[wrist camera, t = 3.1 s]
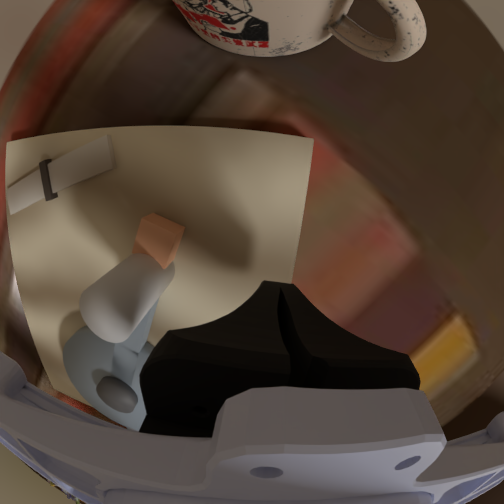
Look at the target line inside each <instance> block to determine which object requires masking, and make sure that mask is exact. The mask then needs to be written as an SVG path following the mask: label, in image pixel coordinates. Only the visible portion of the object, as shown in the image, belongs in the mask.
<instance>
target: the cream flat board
mask: <svg viewBox="0 0 504 504" xmlns="http://www.w3.org/2000/svg"><path fill="white" fill-rule="evenodd" d="M313 143H314V139H311V138H306V137H299V136H293V135H286V134H279V133H271V132H263V131H254V130H244V129H233V128H220V127H202V126H126V127H109V128H96V129H86V130H76V131H68V132H61V133H54V134H47V135H41V136H36V137H30V138H25V139H20V140H15V141H11V142H7V148H6V209H7V221H8V231H9V240H10V247H11V253H12V260H13V265H14V270H15V275H16V280H17V285H18V289H19V293H20V297H21V301H22V305H23V309H24V312H25V316H26V319H27V322H28V325H29V328H30V332H31V335H32V337H33V340H34V343H35V346H36V349H37V351H38V354H39V356H40V359H41V361H42V364H43V366H44V369H45V371H46V373H47V376H48V378H49V380H50V382H51V384H52V387H53V389H55V390H57V391H59V392H61V393H63V394H65V395H67V396H69V397H71V398H73V399H76V400H78V401H80V402H82V403H84V404H87V405H89V406H91V407H93V406H92V405H91V404H89V403H88V402H87V401H86V400H85V399H84V398H83V397H82V395H81V394H80V393H79V392H78V391H77V389H76V388H75V387H74V385H73V384H72V382H71V380H70V378H69V377H68V375H67V372H66V370H65V367H64V363H63V348H64V346H65V343H66V342H67V341H68V340H69V339H70V338H71V337H72V336H73V334H74V333H75V332H76V331H77V330H79V329H80V328H82V327H84V326H86V323H85V321H84V320H83V318H82V315H81V312H80V308H79V300H80V296H81V294H82V292H83V291H84V290H86V289H87V288H88V287H89V286H91V285H92V284H93V283H94V282H96V281H97V280H98V279H100V278H101V277H102V276H103V275H105V274H106V273H107V272H109V271H110V270H111V269H113V268H114V267H115V266H117V265H118V264H119V263H121V262H122V261H123V260H125V259H126V258H127V257H129V256H130V255H131V254H133V253H132V250H133V246H134V242H135V239H136V235H137V232H138V228H139V225H140V222H141V218H143V217H145V216H147V215H149V214H151V213H155V214H158V215H160V216H162V217H164V218H166V219H168V220H171V221H173V222H175V223H177V224H179V225H182V226H184V227H186V228H185V230H184V233H183V236H182V238H181V241H180V244H179V247H178V249H177V252H176V255H175V258H174V260H173V262H174V265H175V275H174V278H173V280H172V282H171V283H170V284H169V285H168V287H167V288H166V289H165V291H164V292H163V293H162V294H161V296H160V297H159V300H158V304H157V307H156V310H155V314H154V317H153V320H152V324H151V327H150V331H149V334H148V338H147V341H146V342H148V343H149V344H151V345H152V346H154V347H155V346H156V344H157V343H158V342H159V341H160V339H161V338H162V337H163V336H164V335H165V334H166V332H167V331H168V330H175V329H182V328H188V327H194V326H198V325H201V324H205V323H208V322H211V321H214V320H216V319H218V318H221V317H223V316H225V315H227V314H229V313H231V312H232V311H234V310H235V309H237V308H238V307H239V306H241V305H242V304H243V303H244V302H245V301H246V300H248V299H249V298H250V297H251V296H252V294H253V293H254V292H255V291H256V290H257V289H258V287H259V286H260V284H261V282H262V281H264V280H267V281H275V282H282V283H290V284H291V281H292V275H293V270H294V265H295V259H296V254H297V248H298V242H299V237H300V231H301V225H302V219H303V212H304V206H305V200H306V193H307V186H308V180H309V173H310V165H311V158H312V151H313Z"/></svg>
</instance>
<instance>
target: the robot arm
mask: <svg viewBox="0 0 504 504" xmlns="http://www.w3.org/2000/svg"><path fill="white" fill-rule="evenodd" d="M139 380H140V388H141V393H142V397H143V401H144V406H145V410H146V416H145V419H144V421H143V423H142V425H141V427H140V430H139V431H137V430H134V429H131V428H128V427H127V429H125V428H122V427H119V426H117V425H114V424H111V423H109V422H106V421H104V420H101V419H99V418H97V417H94V416H92V415H90V414H87V413H85V412H83V411H81V410H79V409H77V408H74V407H72V406H70V405H68V404H66V403H64V402H62V401H60V400H59V399H57V398H55V397H53V396H51V395H49V394H47V393H46V392H44V391H42V390H40V389H39V388H37V387H35V386H34V385H32V384H30V383H29V382H27V379H26V376H25V374H24V372H23V370H22V368H21V367H20V366H19V364H18V363H17V362H15V361H14V360H13V359H11V358H10V357H8V356H7V355H5V354H4V353H2V352H1V351H0V442H1V443H2V444H3V445H4V446H6V447H7V448H8V449H9V450H10V451H12V452H13V453H14V454H15V455H16V456H17V457H19V458H20V459H21V460H22V461H24V462H25V463H26V464H28V465H29V466H30V467H32V468H33V469H34V470H36V471H37V472H38V473H40V474H41V475H42V476H44V477H45V478H47V479H48V480H50V481H51V482H53V483H54V484H56V485H57V486H59V487H60V488H62V489H63V490H65V491H67V492H68V493H70V494H72V495H73V496H75V497H77V498H78V499H80V500H82V501H84V502H86V504H465V503H466V502H468V501H470V500H472V499H474V498H476V497H477V496H479V495H481V494H482V493H484V492H486V491H488V490H489V489H491V488H493V487H494V486H496V485H497V484H499V483H500V482H501V481H502V480H504V412H501V413H500V414H498V415H497V416H496V417H495V418H494V419H493V420H492V421H491V422H490V423H489V425H488V426H487V428H486V429H484V430H481V431H478V432H475V433H473V434H470V435H467V436H464V437H461V438H458V439H454V440H451V441H448V442H447V441H446V438H445V436H444V433H443V431H442V429H441V426H440V424H439V422H438V420H437V418H436V416H435V414H434V412H433V409H432V407H431V405H430V403H429V401H428V399H427V397H426V395H425V393H424V391H420V390H419V387H420V377H419V374H418V372H417V370H416V368H415V367H414V365H413V363H412V361H411V359H410V358H409V356H408V355H407V354H403V353H400V352H396V351H393V350H389V349H386V348H383V347H380V346H378V345H375V344H373V343H370V342H368V341H366V340H363V339H361V338H359V337H357V336H355V335H354V334H352V333H350V332H348V331H346V330H345V329H343V328H341V327H340V326H338V325H337V324H336V323H334V322H333V321H331V320H330V319H329V318H327V317H326V316H325V315H324V314H323V313H322V312H320V311H319V310H318V309H317V308H316V307H315V306H314V305H313V304H312V303H311V302H310V301H309V300H308V299H307V298H306V297H305V296H304V295H303V294H302V292H301V291H300V290H299V289H298V288H297V287H296V286H295V285H294V284H290V283H282V282H275V281H267V280H264V281H262V282H261V284H260V286H259V287H258V289H257V290H256V291H255V292H254V293H253V294H252V296H251V297H250V298H249V299H248V300H246V301H245V302H244V303H243V304H242V305H241V306H239V307H238V308H237V309H235V310H234V311H232V312H231V313H229V314H227V315H225V316H223V317H221V318H218V319H216V320H214V321H211V322H208V323H205V324H201V325H198V326H194V327H188V328H182V329H175V330H168V331H167V332H166V334H165V335H164V336H163V337H162V338H161V339H160V341H159V342H158V343H157V344H156V346H155V347H154V348H153V350H152V352H151V353H150V355H149V357H148V358H147V360H146V362H145V363H144V365H143V367H142V370H141V372H140V374H139Z"/></svg>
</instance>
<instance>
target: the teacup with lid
mask: <svg viewBox="0 0 504 504" xmlns="http://www.w3.org/2000/svg"><path fill="white" fill-rule="evenodd" d="M172 1H173V2H174V3H175V5H176V6H177V7H178V9H179V10H180V12H181V13H182V14H183V16H184V17H185V19H186V20H187V22H188V23H189V24H190V26H191V27H192V28H193V30H194V31H195V32H196V33H197V34H198V35H199V36H200V37H202V38H203V39H204V40H206V41H207V42H209V43H210V44H212V45H214V46H216V47H218V48H221V49H223V50H226V51H229V52H233V53H237V54H242V55H248V56H260V57H273V56H283V55H290V54H294V53H298V52H302V51H305V50H308V49H310V48H313V47H315V46H317V45H319V44H321V43H322V42H324V41H325V40H327V39H328V38H329V37H331V36H332V35H334V36H335V37H336V38H338V39H339V40H340V41H342V42H343V43H344V44H346V45H347V46H348V47H350V48H351V49H353V50H355V51H356V52H358V53H360V54H362V55H364V56H366V57H369V58H372V59H375V60H379V61H385V62H394V61H400V60H403V59H406V58H408V57H410V56H411V55H413V54H414V53H415V52H417V51H418V50H419V49H420V48H421V46H422V45H423V44H424V41H425V39H426V25H425V21H424V18H423V15H422V12H421V10H420V8H419V6H418V4H417V3H416V1H415V0H377V1H378V2H379V4H380V5H381V6H382V7H383V8H384V9H385V10H386V12H387V13H388V15H389V16H390V18H391V20H392V22H393V24H394V27H395V30H396V39H395V40H393V39H385V38H381V37H378V36H375V35H373V34H371V33H369V32H368V31H366V30H365V29H363V28H362V27H360V26H359V25H358V24H356V23H355V22H354V21H353V20H351V19H350V18H349V17H348V16H346V14H347V12H348V10H349V8H350V6H351V4H352V2H353V1H354V0H172Z"/></svg>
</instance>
